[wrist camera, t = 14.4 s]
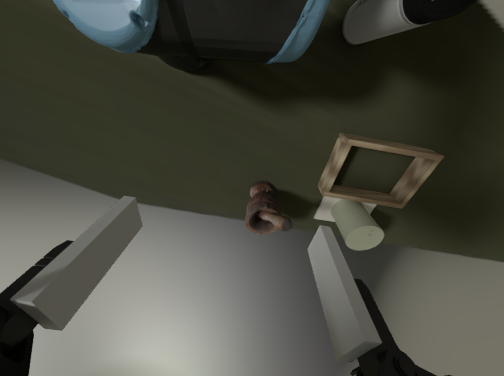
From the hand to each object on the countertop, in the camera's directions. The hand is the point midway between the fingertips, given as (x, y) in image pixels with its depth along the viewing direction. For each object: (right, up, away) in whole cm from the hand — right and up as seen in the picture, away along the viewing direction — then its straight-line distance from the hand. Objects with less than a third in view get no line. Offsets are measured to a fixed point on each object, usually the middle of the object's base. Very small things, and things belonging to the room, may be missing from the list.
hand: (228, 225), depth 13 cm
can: (+31, -4, +42) cm, 52 cm away
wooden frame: (+33, +8, +35) cm, 48 cm away
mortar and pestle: (+5, +3, +39) cm, 40 cm away
